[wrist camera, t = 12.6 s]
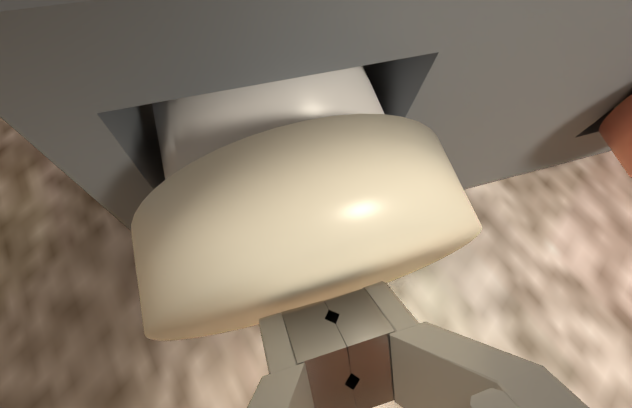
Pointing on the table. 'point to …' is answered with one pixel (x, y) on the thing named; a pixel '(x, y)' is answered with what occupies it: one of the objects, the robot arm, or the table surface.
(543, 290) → the table surface
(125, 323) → the table surface
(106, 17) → the mount
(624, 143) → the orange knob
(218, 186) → the cream knob
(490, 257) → the table surface
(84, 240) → the table surface
